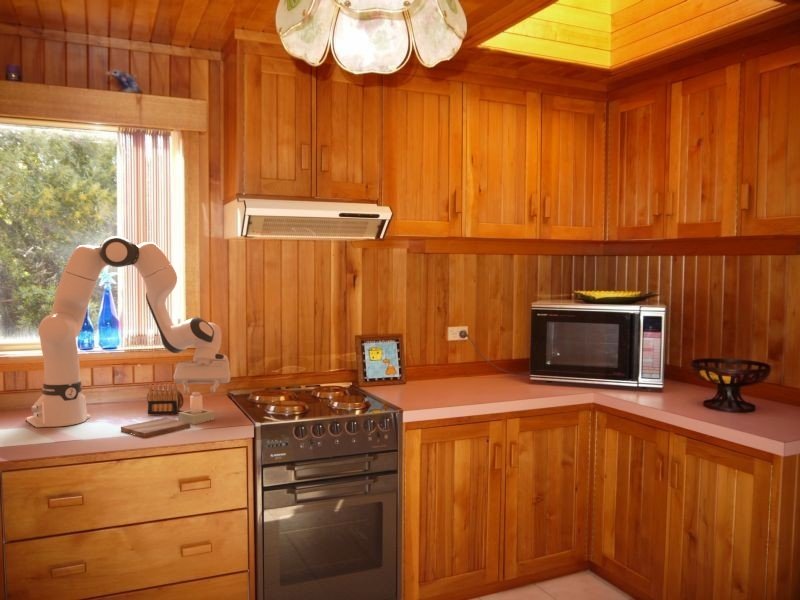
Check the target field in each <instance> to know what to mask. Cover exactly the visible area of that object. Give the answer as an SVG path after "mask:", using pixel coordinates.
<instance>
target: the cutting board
mask: <svg viewBox="0 0 800 600" xmlns="http://www.w3.org/2000/svg"><path fill="white" fill-rule="evenodd" d="M185 428H186V429H189V428H191V424H190V423H188V422H183V421H179V419H174V418H171V417H167V416H166V417H163V418H157V419H153V420H147V421H143V422H138V423H134V424H133V423H132V424H128V425H123V426H120V432H122V431H124V432H123V433H125V432H127V433H126V434H129V433H132V434H135V435H134V436H136V435H137V436H136V437H139V438H143V439H146V438H150V437H154V436H159V435H164V434H167V433H171V432H172V433H173V432H176V430H177V431H181V430H185ZM132 434H131V435H132Z"/></svg>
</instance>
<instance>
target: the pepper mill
mask: <svg viewBox="0 0 800 600" xmlns="http://www.w3.org/2000/svg"><path fill="white" fill-rule="evenodd" d="M202 409H203V394H201V392H199V391H192V392H191V395H189V410H190V414H193V415H196V414H201V413H203V412H202Z"/></svg>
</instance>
